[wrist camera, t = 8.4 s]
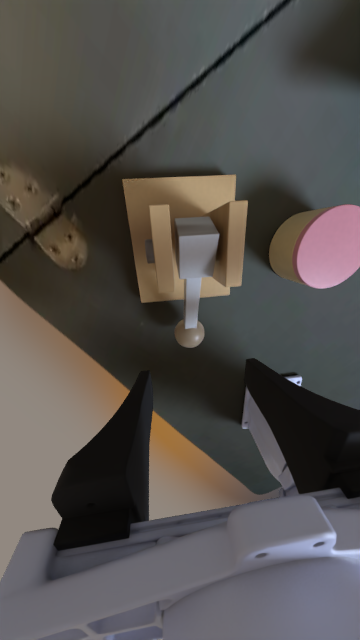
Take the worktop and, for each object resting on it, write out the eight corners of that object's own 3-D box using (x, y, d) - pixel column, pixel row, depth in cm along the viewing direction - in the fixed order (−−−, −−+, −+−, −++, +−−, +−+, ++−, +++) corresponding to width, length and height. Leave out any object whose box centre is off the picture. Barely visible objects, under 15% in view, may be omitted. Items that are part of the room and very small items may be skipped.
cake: (319, 276, 20) (357, 285, 16) (264, 281, 20) (289, 291, 16) (337, 209, 18) (386, 202, 14) (273, 213, 17) (306, 206, 13)
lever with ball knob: (200, 328, 21) (205, 351, 19) (173, 331, 20) (176, 354, 18) (214, 213, 11) (228, 235, 10) (167, 216, 11) (171, 239, 9)
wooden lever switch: (225, 292, 20) (266, 324, 12) (142, 299, 19) (131, 338, 12) (231, 178, 16) (298, 123, 8) (124, 183, 15) (90, 127, 7)
